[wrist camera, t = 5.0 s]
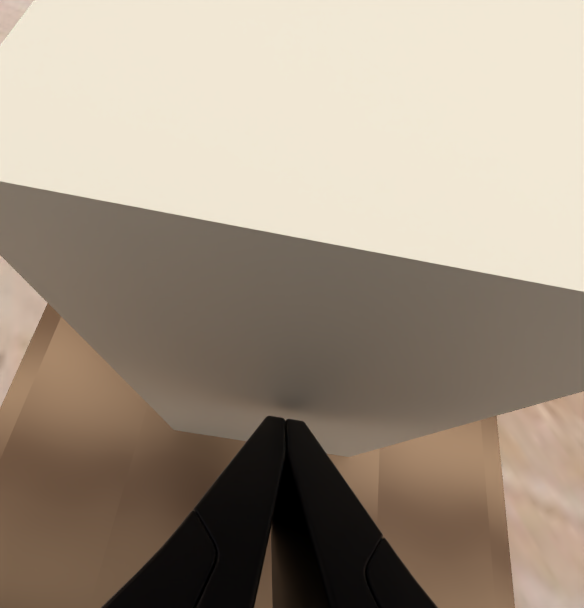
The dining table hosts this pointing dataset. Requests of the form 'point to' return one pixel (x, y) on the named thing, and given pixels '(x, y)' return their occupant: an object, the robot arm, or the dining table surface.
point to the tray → (199, 478)
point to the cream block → (305, 205)
